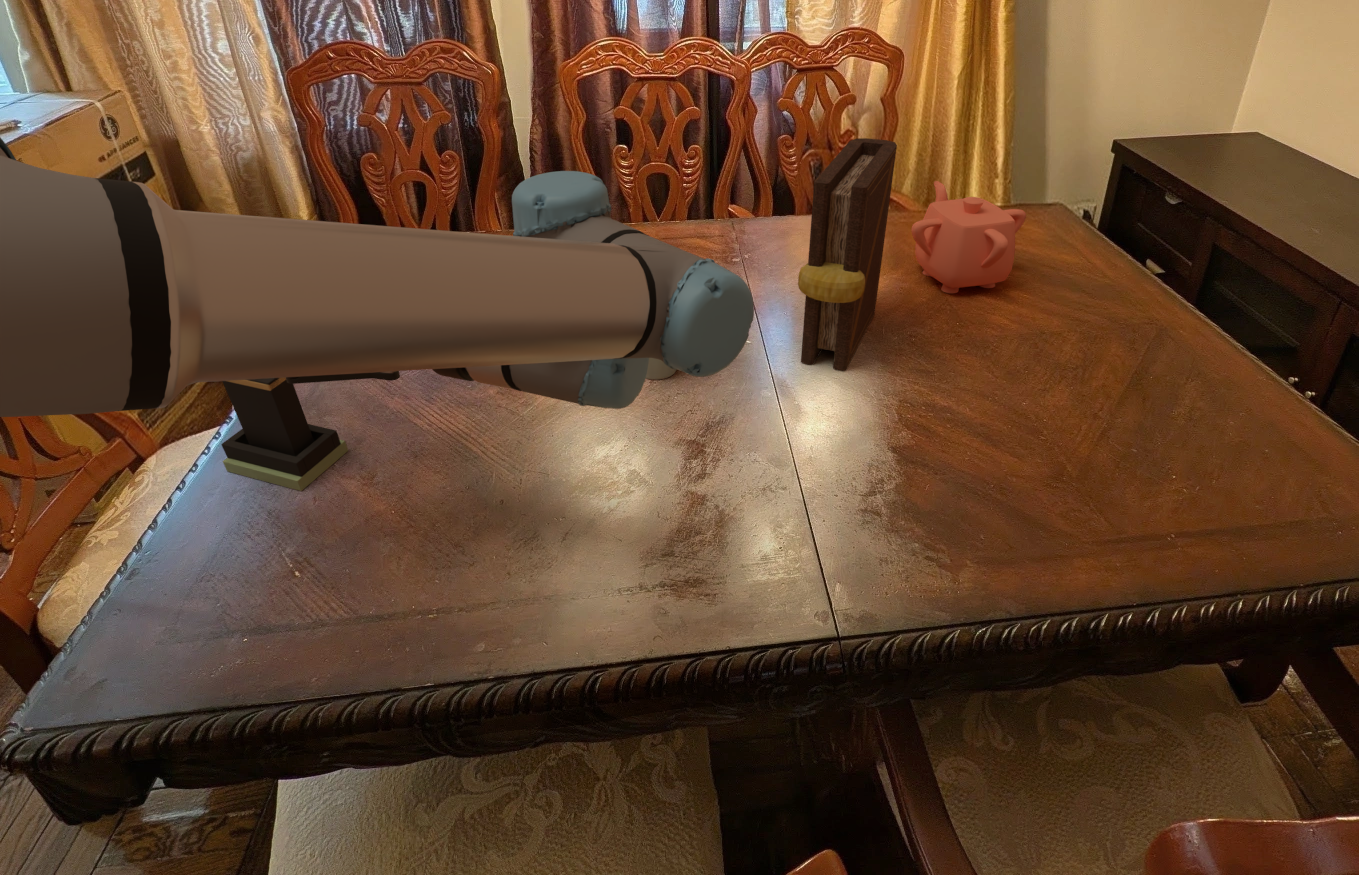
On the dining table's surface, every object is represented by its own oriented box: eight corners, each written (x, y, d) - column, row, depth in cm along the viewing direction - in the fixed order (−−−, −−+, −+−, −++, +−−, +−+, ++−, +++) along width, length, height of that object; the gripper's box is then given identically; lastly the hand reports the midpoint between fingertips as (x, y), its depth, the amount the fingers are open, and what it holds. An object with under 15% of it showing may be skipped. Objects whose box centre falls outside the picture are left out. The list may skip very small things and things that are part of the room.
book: (829, 301, 124) (845, 136, 110) (884, 310, 122) (908, 142, 107) (786, 371, 108) (797, 188, 94) (848, 383, 105) (870, 197, 91)
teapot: (996, 308, 121) (1016, 224, 114) (894, 287, 128) (906, 207, 120) (1018, 266, 133) (1037, 188, 125) (923, 250, 139) (936, 174, 132)
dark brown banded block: (317, 449, 94) (288, 369, 88) (299, 464, 92) (267, 383, 85) (271, 437, 96) (239, 358, 90) (251, 452, 94) (217, 372, 87)
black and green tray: (348, 450, 96) (340, 427, 94) (301, 491, 90) (291, 467, 88) (276, 433, 100) (267, 410, 98) (226, 471, 94) (215, 447, 92)
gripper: (407, 452, 66) (210, 405, 72) (551, 317, 84) (385, 289, 91) (385, 374, 61) (178, 331, 68) (543, 250, 80) (369, 226, 86)
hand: (296, 307), depth 79 cm, fingers open, 13 cm apart
